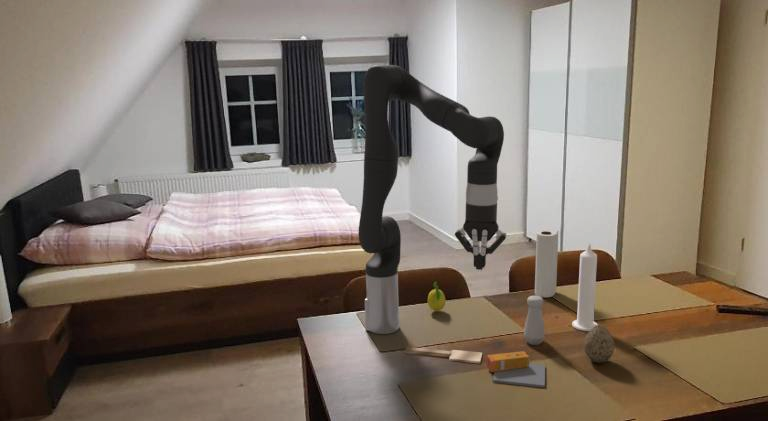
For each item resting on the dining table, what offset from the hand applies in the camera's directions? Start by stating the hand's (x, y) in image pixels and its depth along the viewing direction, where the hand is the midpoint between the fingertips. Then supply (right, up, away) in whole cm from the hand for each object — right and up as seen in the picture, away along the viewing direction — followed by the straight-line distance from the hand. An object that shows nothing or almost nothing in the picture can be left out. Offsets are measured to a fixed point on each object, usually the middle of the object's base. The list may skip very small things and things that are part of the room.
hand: (479, 268), depth 144 cm
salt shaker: (+18, -22, +15) cm, 32 cm away
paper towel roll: (+30, -14, +48) cm, 59 cm away
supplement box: (+2, -24, 0) cm, 24 cm away
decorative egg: (+31, -24, +4) cm, 39 cm away
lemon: (-7, -17, +37) cm, 42 cm away
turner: (-8, -24, +9) cm, 27 cm away
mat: (+10, -26, -2) cm, 28 cm away
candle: (+34, -19, +24) cm, 46 cm away
